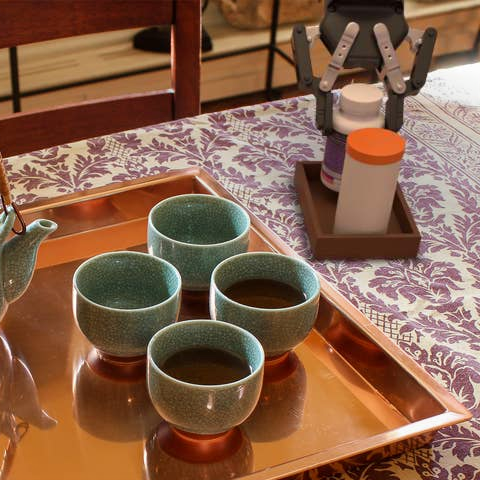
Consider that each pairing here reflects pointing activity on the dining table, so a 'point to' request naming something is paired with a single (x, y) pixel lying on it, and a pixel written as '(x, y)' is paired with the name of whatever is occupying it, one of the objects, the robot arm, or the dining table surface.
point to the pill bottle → (349, 127)
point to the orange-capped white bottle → (368, 181)
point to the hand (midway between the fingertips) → (358, 134)
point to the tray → (351, 245)
